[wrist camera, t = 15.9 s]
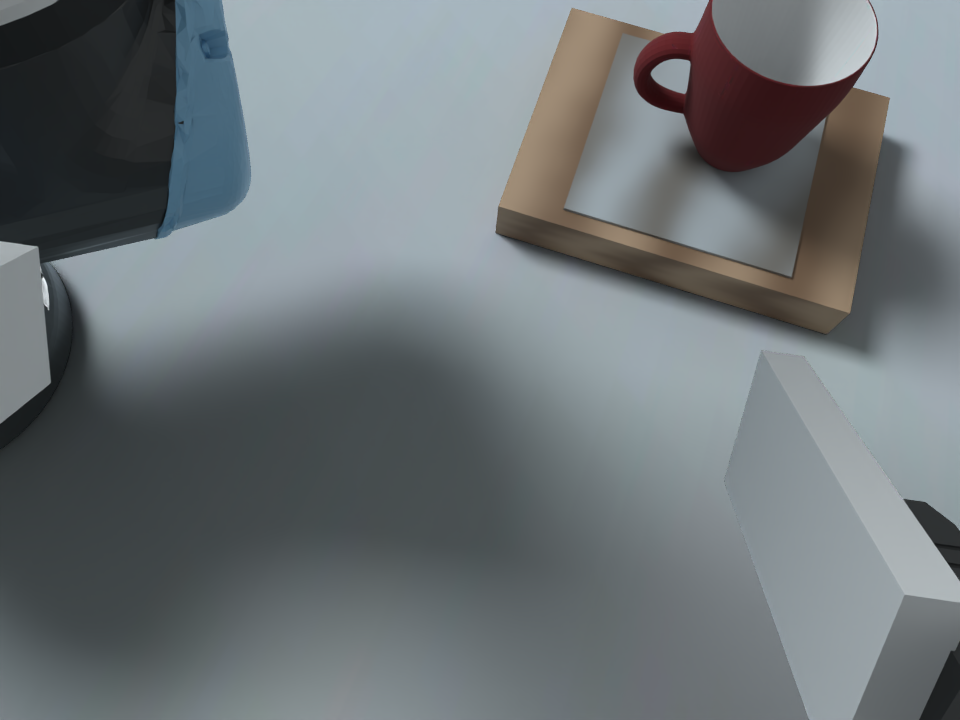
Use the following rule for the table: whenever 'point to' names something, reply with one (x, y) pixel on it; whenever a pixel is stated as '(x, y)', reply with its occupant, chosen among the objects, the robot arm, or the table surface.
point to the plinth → (689, 187)
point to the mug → (761, 73)
